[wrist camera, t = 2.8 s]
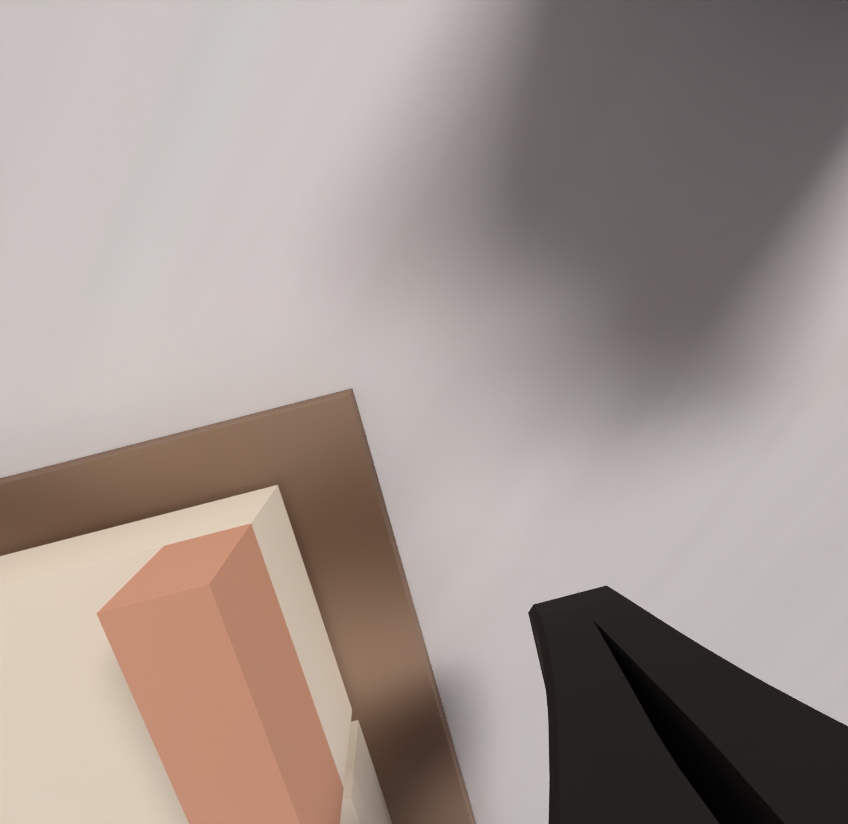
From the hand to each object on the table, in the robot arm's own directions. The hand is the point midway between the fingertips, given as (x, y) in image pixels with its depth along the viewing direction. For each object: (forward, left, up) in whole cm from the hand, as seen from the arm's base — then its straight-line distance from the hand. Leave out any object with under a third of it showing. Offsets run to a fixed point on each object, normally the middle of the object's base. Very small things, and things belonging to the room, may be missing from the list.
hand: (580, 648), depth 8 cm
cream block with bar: (0, +9, -4) cm, 10 cm away
